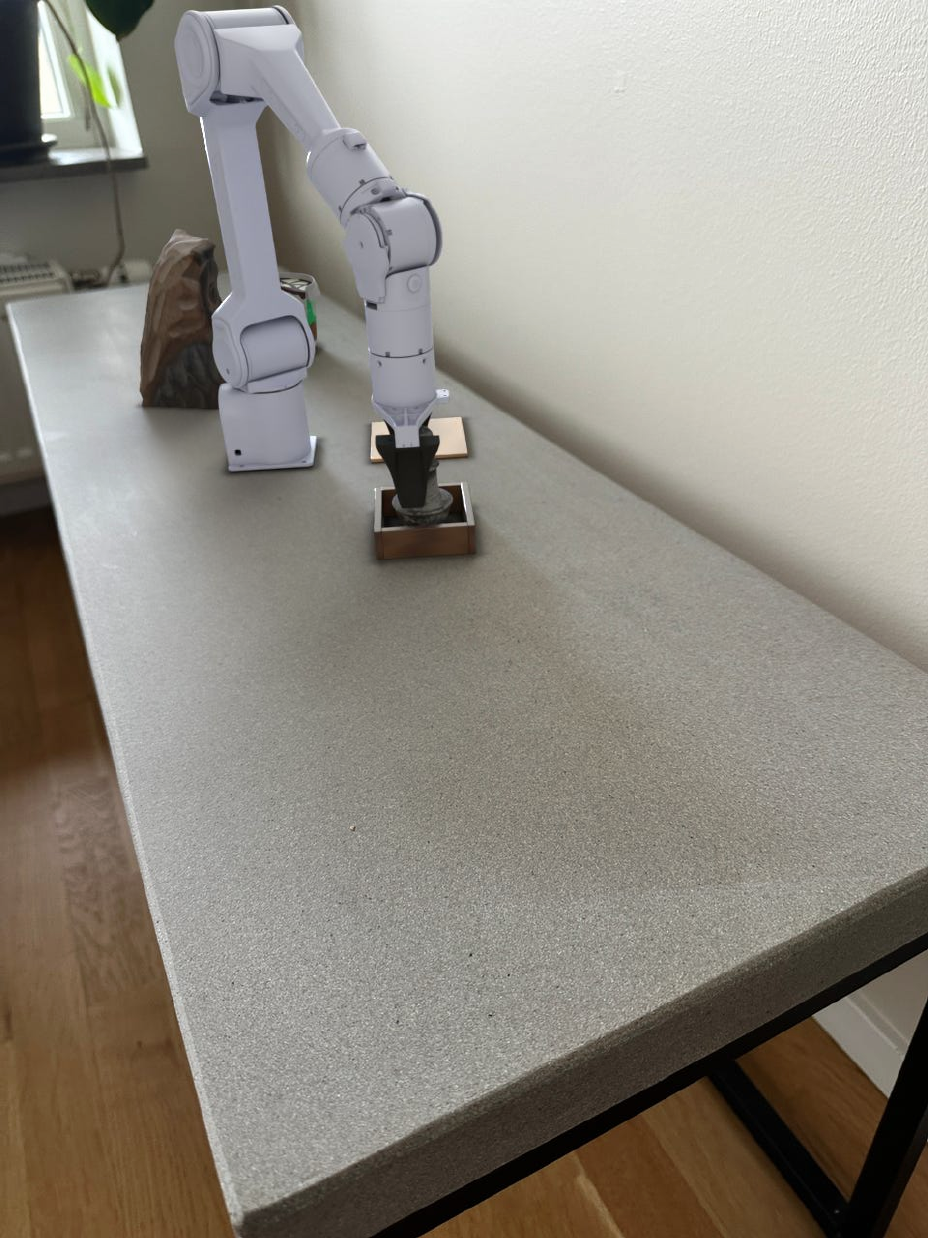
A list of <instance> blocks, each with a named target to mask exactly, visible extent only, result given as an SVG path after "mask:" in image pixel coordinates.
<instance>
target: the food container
mask: <svg viewBox="0 0 928 1238" xmlns="http://www.w3.org/2000/svg"><path fill="white" fill-rule="evenodd" d="M278 274H279V280H280V286H281V290H283V291H284V292H286V293H288V294H290V295H291V296H293V297H295V298H296V299H297V300H299V301H300V302H301V303H302V304H303V305H304V310H305V315H306V318H307V322H308V325H309V327H310V329H311V331H312V334H313V337H314V342H315V353H316V352H317V351H318V323H317V322H318V321H317V299H318V298H319V297H320V296H321V291H320V288H319V285H318V283H317V281H316V280H315V278H314V277H313V276H312V275H309V274H306V273H301V272H278Z"/></svg>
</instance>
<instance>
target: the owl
mask: <svg viewBox="0 0 928 1238" xmlns="http://www.w3.org/2000/svg"><path fill="white" fill-rule="evenodd" d="M216 247H217V246H216V244H215V243H214V242H213V241H212V240H211V239H209V238H203V237H200V236H192V235H190V234H189V233H188V231H187V230H184V229H181V228H176V229H175V230H174V232H173V233H172V236H171V237H170V240H169V241H168V243H166V245H164V246H163V249H162V251H161V253H160V255H159V256H158V259H157V261H156V264H155V266H154V268H153V270H152V272H151V275H150V277H149V283H148V285H149V286H148V292H147V296H146V306H145V314H144V323H143V324H144V325H143V332H142V338H141V342H140V352H139V356H140V367H139V368H140V369H139V370H140V372H139V373H140V382H139V393H140V396H141V397H142V402H141V407H157V408H158V407H160V408H162V407H163V408H182V409H194V408H199V409H206V410H211V409H212V410H213V409H219V401H218V395H219V387H220V385H221V384H226V383H227V382H226V381H225V380H224V379H223V377H222V376H221V374H220V372H219V370H218V368H217V366H216V363H215V360H214V356H213V347H212V346H213V327H212V318H211V317H212V315H213V313H214V312H215V311H216V310H217V308H218V307H219V306H220V305H221V304H222V303H223V302H224V301H223V300H222V297H221V296H220V291H219V288H218V276H219V267H218V263H217V261H216V259H215V254H214V251H215V248H216Z"/></svg>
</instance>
